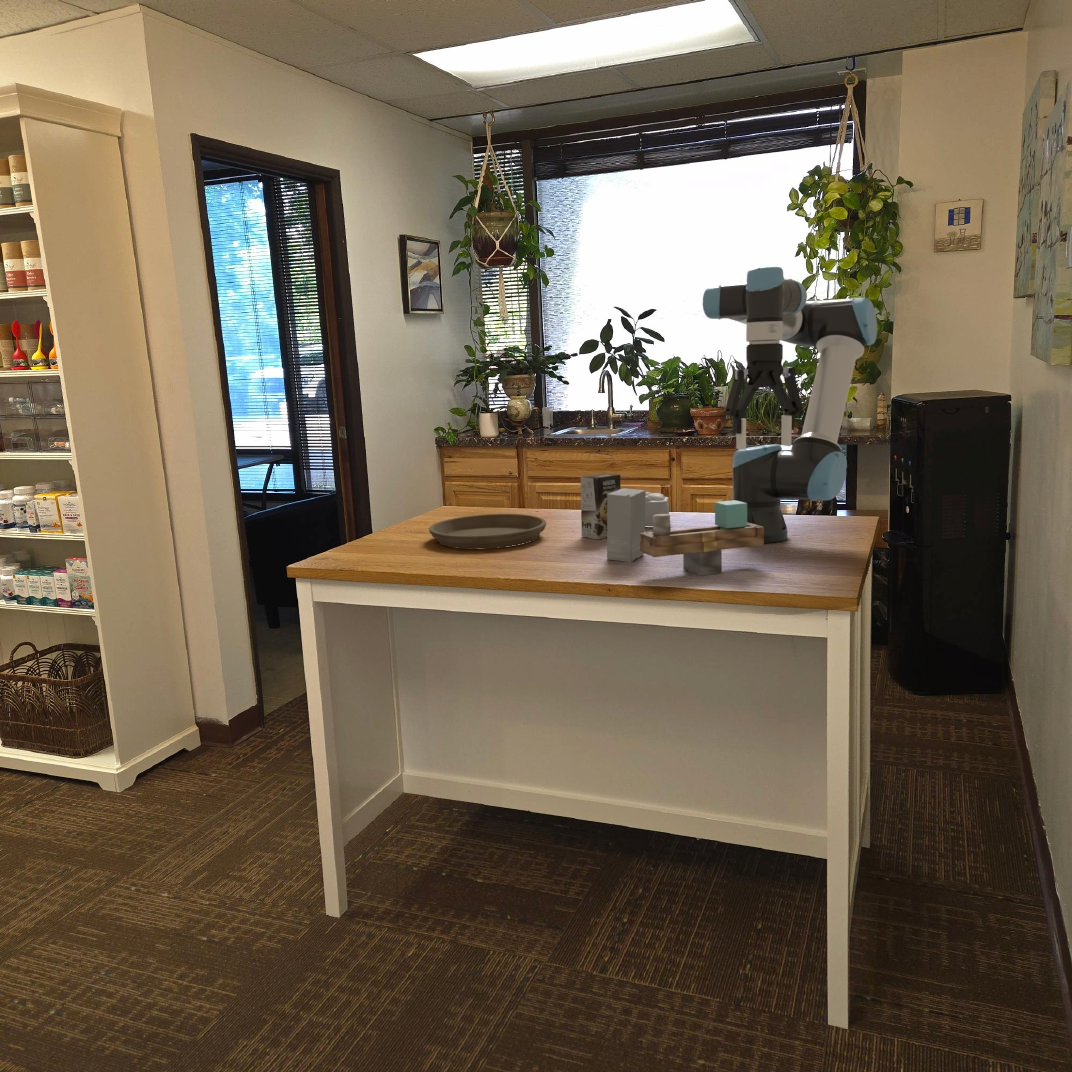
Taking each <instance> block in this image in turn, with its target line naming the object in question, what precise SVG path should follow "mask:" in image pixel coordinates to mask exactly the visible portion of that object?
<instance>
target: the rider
mask: <svg viewBox="0 0 1072 1072" xmlns="http://www.w3.org/2000/svg"><path fill="white" fill-rule="evenodd" d="M714 526H721V527H720V530H722V529H731V528H741V527H744V526H747V503H744V502H740V501H737V500H733V499H732V500H725V501H724V500H722V501H715V502H714Z"/></svg>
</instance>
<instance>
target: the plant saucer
mask: <svg viewBox="0 0 1072 1072" xmlns="http://www.w3.org/2000/svg"><path fill="white" fill-rule="evenodd" d="M546 526H547V521H546V520H545V519H544V518H542V517H539V516H536V515H530V514H524V513H523V514H522V513H488V514H487V513H486V514H485V513H483V514H475V515H474V514H473V515H468V516H466V515H465V516H459V517H453V518H448V519H444V520H441V521H439V522H436V523H432V525H430V526H429V527H428V531H429V533H430V534H431V536H432V537H433V538H434V539H436V540H437V542H438V543H439V542H440V543H441V544H443V545H446V546H450V547H449V548H451V547H458V548H457V549H459V548H495V549H498V548H497V547H506V546H512V545H518V544H522V543H526V542H529V541H532V542H534V541H535V539H536V540H537V539H538V538H539V537H540V534H541V533H542V532H543V531H545V528H546ZM533 540H534V541H533ZM440 543H439V544H440ZM441 544H440V545H441ZM443 545H442V546H443ZM446 546H445V547H446ZM518 546H519V545H518ZM506 548H507V547H506Z"/></svg>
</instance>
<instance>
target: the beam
mask: <svg viewBox="0 0 1072 1072" xmlns="http://www.w3.org/2000/svg"><path fill="white" fill-rule="evenodd" d="M720 527H721V526H718V525H714V526H713V525H710V526H702V527H701V526H698V527H689V528H682V529H681V528H680V529H673V530H672V529H671V514H669V515H668V514H656V515H653V528H652V529H653V530H652V531H651V532H646V531H645V532H644V533H640V551H641V552H643V553H645V554H646V555H647V556H649V557H652V558H660V557H668V556H676V555H682V556H683V557H682V558H683V559H682V560H683V565H682V566H683V569H684V570H687V571H689V572H691V573H692V574H696V575H698V576H700V577H702V576H709V575H710V576H711V575H719V573H720V574H723V573H722V572H723V571H722V570H723V569H722V566H723V563H722V561H723V560H722V559H723V558H722V557H723V556H722V555H723V554H722V553H723V551H724V550H731V549H741V548H749V547H750V548H751V547H757V546H758V547H759V546H764V545H765V543H764V527H762V526H759V525H755V524H752V523H748V522H747V526H744V527H741V528H731V529H722V530H720ZM722 550H723V551H722ZM645 554H644V555H645Z"/></svg>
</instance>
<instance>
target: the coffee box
mask: <svg viewBox="0 0 1072 1072" xmlns="http://www.w3.org/2000/svg"><path fill="white" fill-rule="evenodd" d="M621 487H622V486H621V474H617V473H599V474H591V475H585V476H580V513H581V514H580V515H581V516H580V517H581V518H580V519H581V524H580V525H581V538H586V537H587V538H588V539H591V538H593V539H592V540H596V539H598V540H603V539H607V538H606V537H607V494H609V493H612V492H615V491H617V490H620V489H622V488H621ZM587 538H586V539H587ZM602 538H603V539H602Z"/></svg>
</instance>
